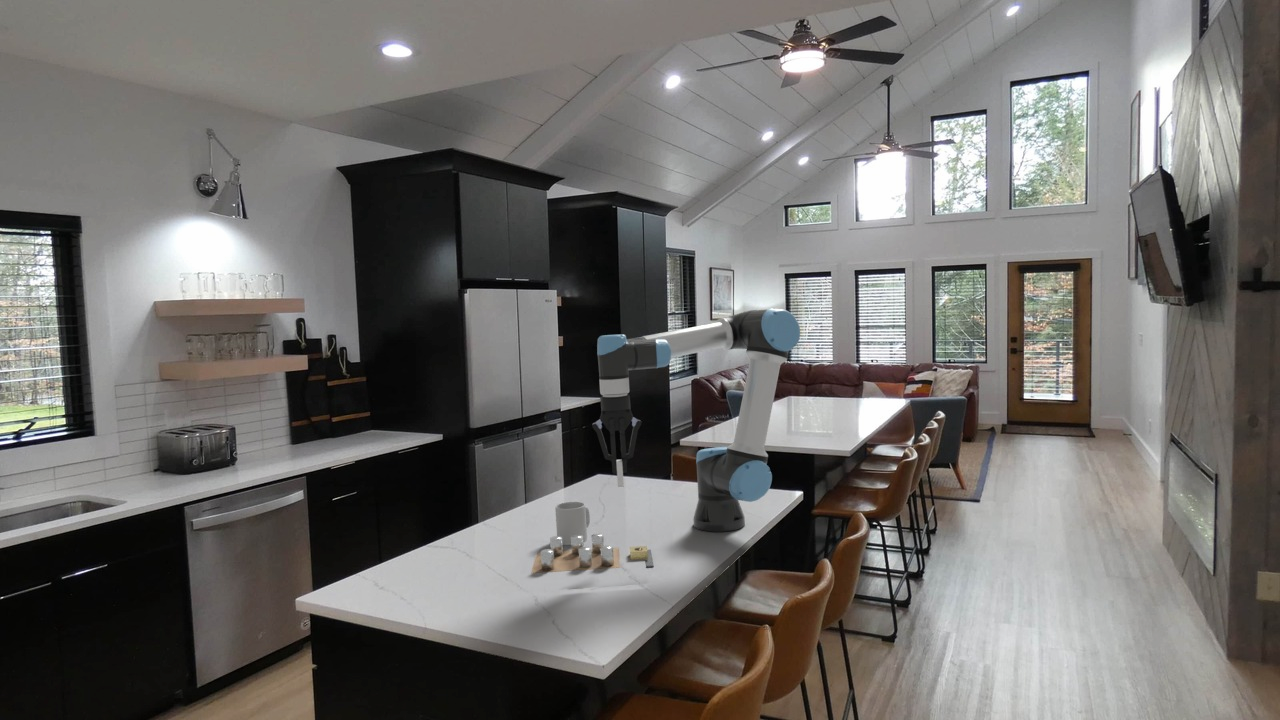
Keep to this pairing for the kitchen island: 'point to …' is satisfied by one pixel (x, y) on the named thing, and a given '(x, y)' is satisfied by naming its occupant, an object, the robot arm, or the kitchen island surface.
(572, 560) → the board
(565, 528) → the mug
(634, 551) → the nut
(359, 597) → the kitchen island surface
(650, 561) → the mat
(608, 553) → the spacers
